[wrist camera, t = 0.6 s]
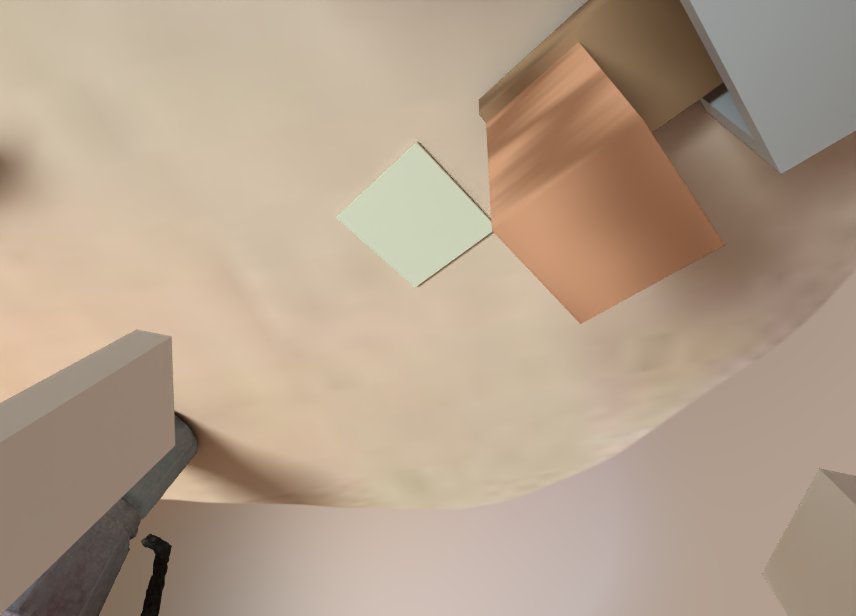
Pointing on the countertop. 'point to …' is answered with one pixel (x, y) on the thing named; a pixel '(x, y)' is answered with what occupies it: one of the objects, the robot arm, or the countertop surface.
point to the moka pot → (109, 547)
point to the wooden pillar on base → (599, 153)
